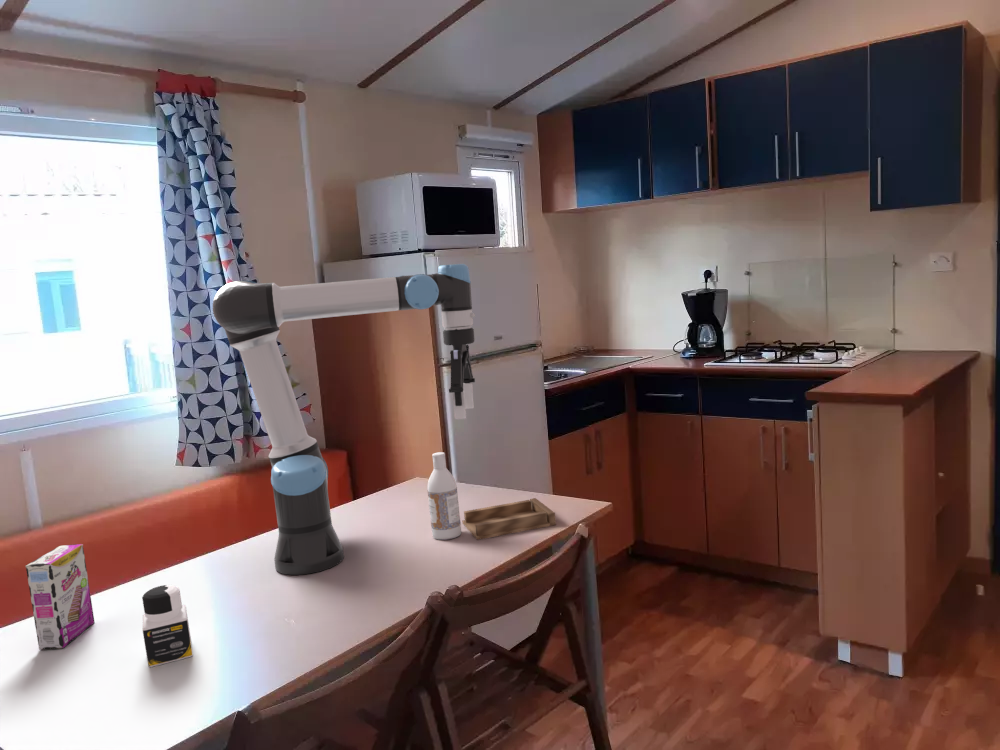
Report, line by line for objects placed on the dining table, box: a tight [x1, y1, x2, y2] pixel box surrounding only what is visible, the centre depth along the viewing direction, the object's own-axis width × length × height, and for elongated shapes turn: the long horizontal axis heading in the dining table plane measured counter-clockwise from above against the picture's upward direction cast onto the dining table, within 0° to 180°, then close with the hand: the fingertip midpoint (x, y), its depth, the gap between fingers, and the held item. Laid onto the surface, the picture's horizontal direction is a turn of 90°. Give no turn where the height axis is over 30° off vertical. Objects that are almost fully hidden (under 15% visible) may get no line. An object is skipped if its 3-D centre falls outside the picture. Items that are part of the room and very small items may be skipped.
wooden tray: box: [462, 497, 557, 541], centre depth 193 cm, size 20×14×3 cm
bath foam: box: [427, 451, 462, 541], centre depth 188 cm, size 7×7×20 cm
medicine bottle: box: [141, 584, 194, 668], centre depth 139 cm, size 7×7×12 cm
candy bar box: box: [25, 543, 95, 651], centre depth 151 cm, size 11×5×16 cm, turn 178°
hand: (464, 413), depth 197 cm, fingers open, 13 cm apart
